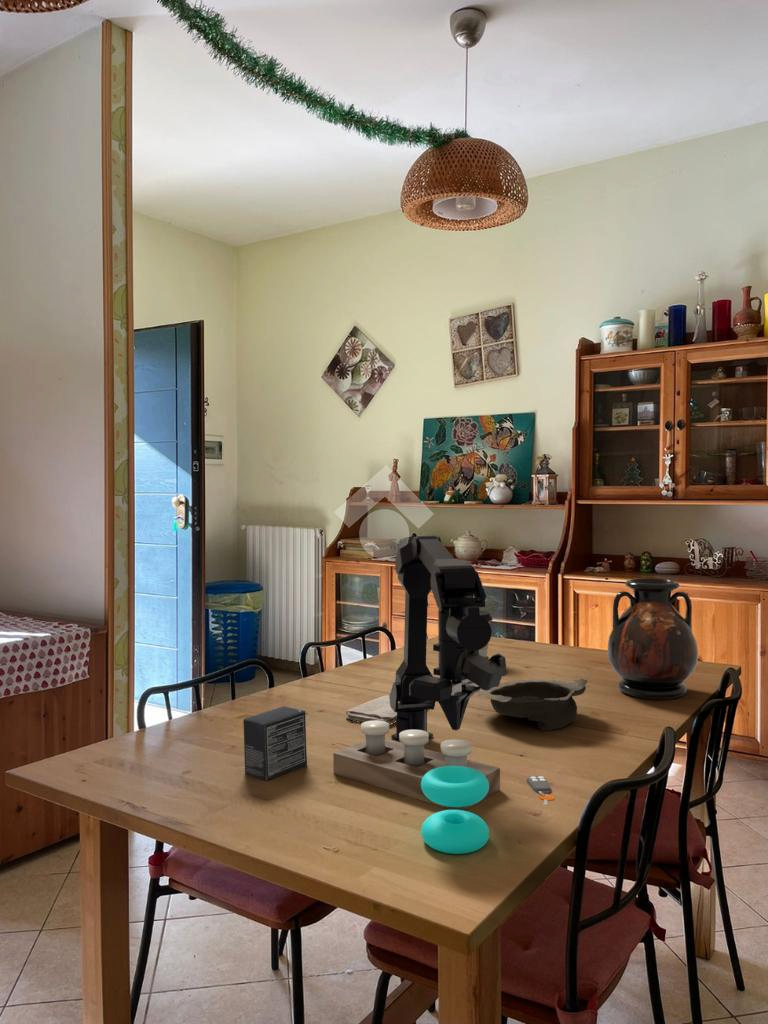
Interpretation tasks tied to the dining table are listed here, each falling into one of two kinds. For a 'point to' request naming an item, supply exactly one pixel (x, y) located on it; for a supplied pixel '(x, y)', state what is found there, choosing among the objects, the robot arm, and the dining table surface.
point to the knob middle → (414, 746)
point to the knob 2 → (456, 752)
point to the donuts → (455, 826)
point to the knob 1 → (375, 736)
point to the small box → (275, 742)
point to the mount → (401, 770)
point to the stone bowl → (537, 700)
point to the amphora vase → (652, 641)
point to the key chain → (540, 787)
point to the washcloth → (373, 711)
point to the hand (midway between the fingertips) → (455, 729)
